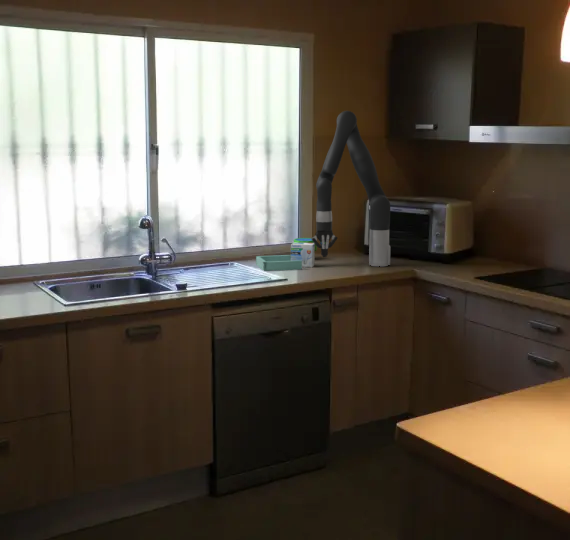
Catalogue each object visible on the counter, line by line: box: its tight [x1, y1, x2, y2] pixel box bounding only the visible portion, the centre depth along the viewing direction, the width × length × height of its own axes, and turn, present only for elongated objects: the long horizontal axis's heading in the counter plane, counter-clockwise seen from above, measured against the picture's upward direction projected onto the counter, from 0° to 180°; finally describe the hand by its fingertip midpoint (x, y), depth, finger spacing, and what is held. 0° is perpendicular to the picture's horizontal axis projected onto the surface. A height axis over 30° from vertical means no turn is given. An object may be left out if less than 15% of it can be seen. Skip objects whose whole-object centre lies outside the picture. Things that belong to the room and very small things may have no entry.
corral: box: [255, 254, 303, 272], centre depth 356 cm, size 18×18×4 cm
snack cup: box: [293, 237, 318, 252], centre depth 377 cm, size 16×10×10 cm
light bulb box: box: [290, 241, 315, 268], centre depth 358 cm, size 11×7×11 cm, turn 80°
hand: (324, 256), depth 361 cm, fingers closed
